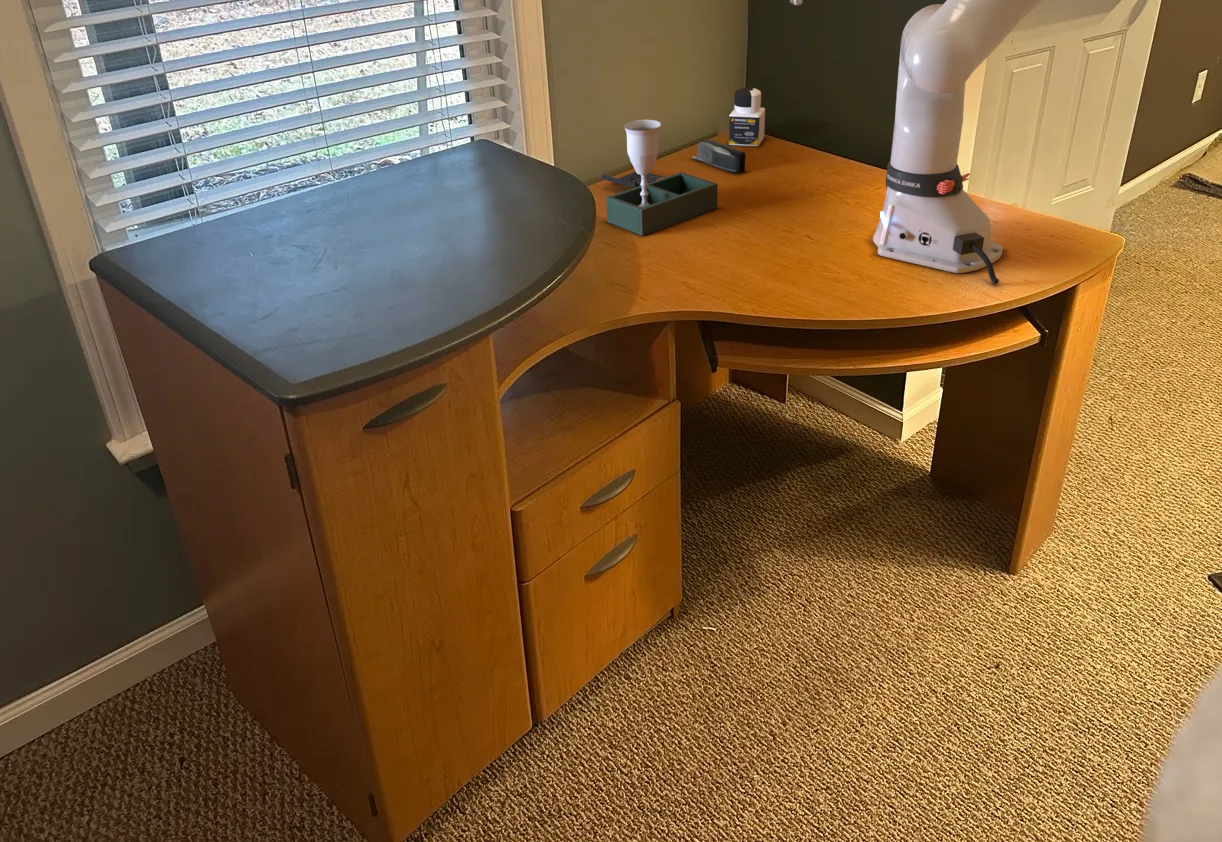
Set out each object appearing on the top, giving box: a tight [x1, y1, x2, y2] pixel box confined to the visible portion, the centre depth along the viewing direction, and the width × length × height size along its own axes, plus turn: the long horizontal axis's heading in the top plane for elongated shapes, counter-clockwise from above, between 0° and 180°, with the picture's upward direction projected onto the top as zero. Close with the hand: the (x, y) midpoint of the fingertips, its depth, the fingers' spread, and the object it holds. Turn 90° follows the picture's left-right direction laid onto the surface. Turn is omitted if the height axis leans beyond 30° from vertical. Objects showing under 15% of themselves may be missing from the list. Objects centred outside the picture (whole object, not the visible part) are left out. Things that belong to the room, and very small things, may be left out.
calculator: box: [601, 171, 666, 189], centre depth 209 cm, size 9×12×3 cm
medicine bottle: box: [728, 87, 766, 147], centre depth 229 cm, size 7×7×12 cm
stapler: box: [692, 139, 747, 174], centre depth 217 cm, size 5×3×15 cm
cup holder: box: [605, 171, 719, 237], centre depth 193 cm, size 10×20×5 cm, turn 130°
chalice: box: [623, 119, 662, 208], centre depth 187 cm, size 7×7×18 cm
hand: (776, 1), depth 181 cm, fingers open, 8 cm apart
